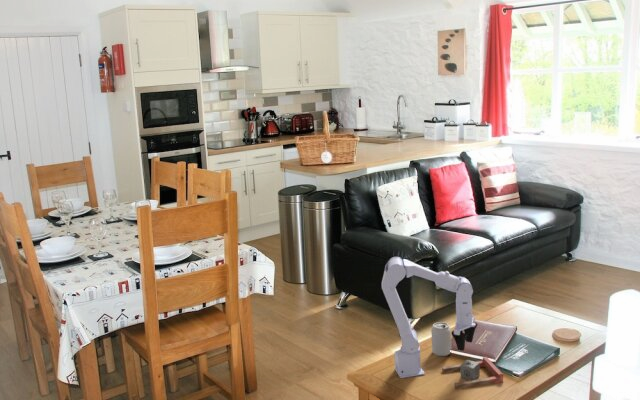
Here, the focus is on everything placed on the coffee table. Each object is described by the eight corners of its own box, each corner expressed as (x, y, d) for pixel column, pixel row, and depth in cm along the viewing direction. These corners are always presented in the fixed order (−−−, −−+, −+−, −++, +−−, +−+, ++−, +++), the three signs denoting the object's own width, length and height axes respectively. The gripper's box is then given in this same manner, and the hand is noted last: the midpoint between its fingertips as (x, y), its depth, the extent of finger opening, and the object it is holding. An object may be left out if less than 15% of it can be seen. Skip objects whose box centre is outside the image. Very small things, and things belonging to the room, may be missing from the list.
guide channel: (456, 389, 215) (455, 381, 215) (442, 370, 229) (441, 363, 228) (503, 381, 218) (502, 373, 217) (486, 363, 231) (486, 356, 231)
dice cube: (467, 371, 227) (466, 359, 226) (479, 375, 224) (479, 362, 223) (460, 377, 223) (460, 365, 222) (473, 381, 220) (473, 368, 219)
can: (451, 357, 239) (450, 328, 236) (432, 357, 240) (430, 328, 238) (451, 348, 246) (450, 320, 244) (432, 348, 248) (431, 320, 245)
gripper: (466, 320, 216) (467, 356, 218) (482, 306, 227) (482, 340, 230) (448, 316, 220) (449, 351, 222) (464, 303, 231) (465, 336, 234)
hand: (465, 345), depth 226 cm, fingers open, 7 cm apart
